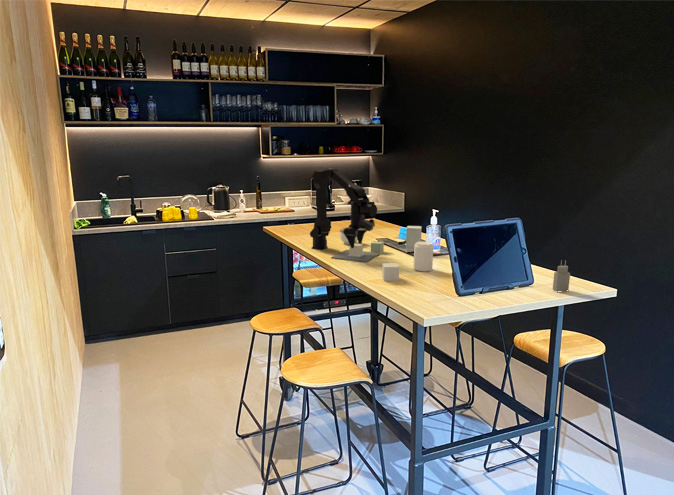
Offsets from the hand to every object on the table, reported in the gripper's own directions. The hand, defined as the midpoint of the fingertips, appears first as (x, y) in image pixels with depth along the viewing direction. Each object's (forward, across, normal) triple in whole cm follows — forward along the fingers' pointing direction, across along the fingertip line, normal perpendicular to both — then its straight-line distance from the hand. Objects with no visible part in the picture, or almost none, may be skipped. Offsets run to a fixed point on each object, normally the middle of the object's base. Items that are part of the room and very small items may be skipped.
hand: (356, 246), depth 243 cm
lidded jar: (+5, +26, +15) cm, 31 cm away
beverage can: (+5, -10, -36) cm, 38 cm away
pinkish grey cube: (+5, -30, -28) cm, 41 cm away
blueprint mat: (+5, 0, 0) cm, 5 cm away
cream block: (+4, 0, 0) cm, 4 cm away
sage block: (+5, +13, -6) cm, 15 cm away
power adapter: (+5, -17, -91) cm, 93 cm away
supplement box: (+5, +22, -22) cm, 31 cm away
